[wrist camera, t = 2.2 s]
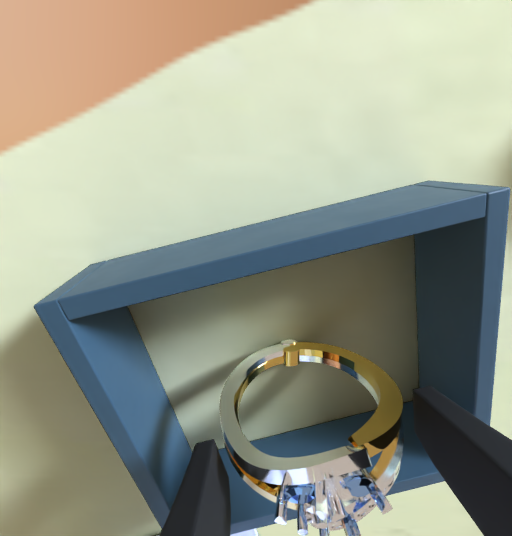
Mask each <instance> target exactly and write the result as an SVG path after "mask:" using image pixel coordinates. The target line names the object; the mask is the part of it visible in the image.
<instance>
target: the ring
mask: <svg viewBox="0 0 512 536" xmlns="http://www.w3.org/2000/svg"><path fill="white" fill-rule="evenodd" d="M300 361H308V362H317V363H323V364H327V365H330V366H333V367H336V368H338V369H340V370H343V371H345V372H346V373H348V374H350V375H351V376H353V377H354V378H356V379H357V380H358V381H360V382H361V383H362V384H363V385H364V386H365V387H366V388H367V389H368V390H369V392H370V393H371V394H372V396H373V397H374V399H375V401H376V403H377V405H378V407H377V409H376V411H375V413H374V414H373V416H372V417H371V418H370V419H369V420H368V421H367V422H366V423H365V424H364V425H363V426H362V427H361V428H360V429H359V430H358V431H357V432H355V433H354V434H353V435H351V436H350V437H349V438H348V441H349V444H350V446H344V447H340V448H337V449H333V450H330V451H326V452H323V453H319V454H314V455H309V456H303V457H293V458H282V457H274V456H270V455H267V454H265V453H263V452H261V451H259V450H258V449H256V448H255V447H254V446H253V445H252V444H251V443H250V442H249V441H248V439H247V438H246V437H245V435H244V434H243V432H242V430H241V427H240V424H239V419H238V412H239V405H240V401H241V398H242V395H243V393H244V391H245V389H246V388H247V386H248V385H249V383H250V382H251V381H252V380H253V379H254V378H255V377H256V376H257V375H258V374H260V373H261V372H263V371H264V370H266V369H268V368H270V367H273V366H276V365H279V364H284V365H285V366H296V365H298V364H299V363H300ZM219 410H220V422H221V429H222V434H223V441H224V445H225V449H226V452H227V454H228V457H229V459H230V461H231V463H232V465H233V467H234V468H235V470H236V471H237V473H238V474H239V475H240V477H241V478H242V479H243V480H244V481H245V482H246V483H247V484H248V485H249V486H250V487H251V488H252V489H254V490H255V491H256V492H258V493H259V494H260V495H262V496H264V497H265V498H267V499H269V500H271V501H273V502H275V503H276V508H275V519H274V522H276V523H279V524H283V525H286V519H287V508H290V509H294V510H297V523H298V533H299V534H300V535H307V534H308V524H309V525H311V526H313V527H315V528H317V529H319V532H320V536H330V532H329V531H333V530H340V529H343V528H344V531H345V534H346V536H361V534H360V531H359V529H358V526H357V523H356V522H358V521H359V520H361V519H362V518H363V517H365V516H366V515H367V514H368V513H369V512H370V511H371V510H372V509H373V508H374V507H375V506H376V505H377V506H378V508H379V510H380V511H381V513H382V514H385V513H387V512H389V511H390V510H392V509H393V508H392V506H391V505H390V503H389V502H388V500H387V499H386V497H385V495H386V494H387V493H388V491H389V490H390V488H391V487H392V485H393V484H394V482H395V480H396V478H397V475H398V473H399V470H400V466H401V461H402V453H403V444H404V428H403V421H402V412H403V399H402V395H401V392H400V390H399V388H398V386H397V385H396V383H395V382H394V381H393V379H392V378H391V377H390V376H389V375H388V374H387V373H386V372H385V371H383V370H382V369H381V368H380V367H378V366H377V365H376V364H374V363H373V362H371V361H370V360H368V359H366V358H364V357H362V356H360V355H358V354H356V353H354V352H352V351H349V350H346V349H343V348H340V347H337V346H333V345H328V344H322V343H313V342H297V341H296V340H293V339H288V340H283V341H281V344H277V345H273V346H270V347H267V348H264V349H261V350H259V351H257V352H255V353H253V354H252V355H250V356H248V357H247V358H246V359H244V360H243V361H242V362H241V363H240V364H239V365H238V366H237V367H236V368H235V369H234V370H233V371H232V373H231V374H230V375H229V377H228V379H227V380H226V382H225V384H224V387H223V389H222V392H221V396H220V404H219ZM382 450H383V451H382ZM381 451H382V454H381V456H380V458H379V460H378V462H377V463H376V465H375V467H374V468H373V469H372V471H371V472H370V473H369V472H368V470H367V469H366V468H368V467H371V466H372V464H371V460H370V458H371V457H373V456H374V455H376V454H378V453H379V452H381ZM307 523H308V524H307Z"/></svg>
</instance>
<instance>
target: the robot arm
mask: <svg viewBox="0 0 512 536" xmlns="http://www.w3.org/2000/svg"><path fill="white" fill-rule="evenodd" d="M413 409H414V431H415V433H416V435H417V437H418V438H419V440H420V442H421V444H422V445H423V447H424V449H425V451H426V452H427V454H428V456H429V457H430V459H431V461H432V463H433V464H434V466H435V467H436V468H437V470H438V471H439V473H440V474H441V476H442V477H443V478H444V480H445V481H446V483H447V484H448V485H449V487H450V488H451V490H452V491H453V493H454V494H455V495H456V497H457V498H458V500H459V501H460V502H461V504H462V505H463V507H464V508H465V509H466V511H467V512H468V514H469V515H470V516H471V518H472V519H473V521H474V522H475V523H476V525H477V526H478V528H479V529H480V530H481V532H482V533H483V535H484V536H512V440H511V439H509V438H507V437H506V436H504V435H503V434H501V433H500V432H498V431H497V430H495V429H493V428H492V427H490V426H489V425H487V424H486V423H484V422H483V421H481V420H480V419H478V418H477V417H475V416H474V415H472V414H471V413H469V412H468V411H466V410H465V409H463V408H462V407H460V406H459V405H458V404H456V403H455V402H453V401H452V400H450V399H449V398H447V397H446V396H444V395H443V394H442V393H440V392H439V391H437V390H436V389H434V388H433V387H431V386H430V385H429V386H425V387H421V388H417V389H413ZM230 528H231V504H230V486H229V476H228V474H227V471H226V469H225V466H224V464H223V461H222V459H221V456H220V454H219V451H218V449H217V446H216V443H215V441H214V439H212V440H208V441H204V442H200V443H197V444H196V445H195V447H194V450H193V453H192V456H191V459H190V462H189V464H188V467H187V470H186V472H185V475H184V478H183V480H182V483H181V485H180V488H179V491H178V493H177V495H176V498H175V500H174V503H173V505H172V507H171V510H170V512H169V515H168V517H167V519H166V522H165V524H164V526H163V528H162V531H161V533H160V535H157V536H258V533H257V530H256V528H255V529H251V530H248V531H244V532H240V533H236V534H232V535H230Z"/></svg>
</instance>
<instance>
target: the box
mask: <svg viewBox="0 0 512 536" xmlns="http://www.w3.org/2000/svg"><path fill="white" fill-rule="evenodd" d="M509 198H510V188H509V187H499V186H487V185H475V184H463V183H451V182H439V181H425V182H421V183H417V184H414V185H409V186H405V187H400V188H396V189H392V190H388V191H384V192H380V193H376V194H372V195H368V196H364V197H360V198H356V199H352V200H348V201H344V202H340V203H336V204H332V205H328V206H324V207H320V208H316V209H312V210H308V211H304V212H300V213H296V214H292V215H288V216H284V217H280V218H276V219H272V220H268V221H264V222H260V223H256V224H252V225H248V226H244V227H240V228H236V229H232V230H228V231H223V232H219V233H215V234H211V235H207V236H203V237H199V238H195V239H191V240H187V241H183V242H179V243H175V244H171V245H167V246H163V247H159V248H155V249H151V250H147V251H143V252H139V253H135V254H131V255H127V256H123V257H119V258H115V259H111V260H108V261H103V262H99V263H95V264H91V265H89V266H88V267H87V268H85V269H84V270H82V271H81V272H80V273H78V274H77V275H76V276H74V277H73V278H71V279H70V280H69V281H67V282H66V283H64V284H63V285H62V286H60V287H59V288H58V289H56V290H55V291H53V292H52V293H51V294H49V295H48V296H46V297H45V298H44V299H42V300H41V301H40V302H38V303H37V304H35V305H34V309H35V310H36V312H37V314H38V316H39V317H40V319H41V321H42V322H43V324H44V326H45V328H46V329H47V331H48V333H49V335H50V336H51V338H52V340H53V341H54V343H55V345H56V347H57V348H58V350H59V352H60V354H61V355H62V357H63V359H64V360H65V362H66V364H67V366H68V367H69V369H70V371H71V373H72V374H73V376H74V378H75V379H76V381H77V383H78V385H79V386H80V388H81V390H82V392H83V393H84V395H85V397H86V398H87V400H88V402H89V404H90V405H91V407H92V409H93V411H94V412H95V414H96V416H97V418H98V419H99V421H100V423H101V424H102V426H103V428H104V430H105V431H106V433H107V435H108V437H109V438H110V440H111V442H112V443H113V445H114V447H115V449H116V450H117V452H118V454H119V456H120V457H121V459H122V461H123V462H124V464H125V466H126V468H127V469H128V471H129V473H130V475H131V476H132V478H133V480H134V481H135V483H136V485H137V487H138V488H139V490H140V492H141V494H142V495H143V497H144V499H145V500H146V502H147V504H148V506H149V507H150V509H151V511H152V513H153V514H154V516H155V518H156V519H157V521H158V523H159V525H160V526H161V528H163V526H164V524H165V522H166V519H167V517H168V515H169V512H170V510H171V507H172V505H173V503H174V500H175V498H176V495H177V493H178V491H179V488H180V485H181V483H182V480H183V478H184V475H185V472H186V470H187V467H188V464H189V462H190V459H191V456H192V451H191V449H190V446H189V444H188V442H187V440H186V437H185V435H184V433H183V431H182V428H181V426H180V424H179V422H178V419H177V417H176V415H175V413H174V410H173V408H172V406H171V404H170V401H169V399H168V397H167V395H166V392H165V390H164V388H163V386H162V383H161V381H160V379H159V377H158V374H157V372H156V370H155V368H154V365H153V363H152V361H151V359H150V356H149V354H148V352H147V350H146V347H145V345H144V343H143V341H142V339H141V336H140V334H139V332H138V330H137V327H136V325H135V323H134V321H133V318H132V316H131V314H130V312H129V309H128V307H127V306H129V305H133V304H137V303H141V302H145V301H149V300H153V299H157V298H161V297H165V296H169V295H173V294H177V293H181V292H185V291H189V290H193V289H197V288H201V287H205V286H210V285H214V284H218V283H222V282H226V281H230V280H234V279H238V278H242V277H246V276H250V275H254V274H258V273H262V272H266V271H270V270H274V269H278V268H282V267H286V266H290V265H294V264H298V263H302V262H306V261H310V260H314V259H318V258H322V257H326V256H330V255H334V254H338V253H342V252H346V251H350V250H354V249H358V248H362V247H366V246H370V245H374V244H378V243H382V242H386V241H390V240H394V239H398V238H402V237H406V236H410V235H414V238H415V268H416V299H417V329H418V359H419V388H421V387H425V386H429V385H430V386H431V387H433V388H434V389H436V390H437V391H439V392H440V393H442V394H443V395H444V396H446V397H447V398H449V399H450V400H452V401H453V402H455V403H456V404H458V405H459V406H460V407H462V408H463V409H465V410H466V411H468V412H469V413H471V414H472V415H474V416H475V417H477V418H478V419H480V420H481V421H483V422H484V423H486V424H487V425H489V426H490V419H491V408H492V396H493V384H494V373H495V361H496V349H497V338H498V326H499V315H500V303H501V291H502V280H503V268H504V256H505V245H506V233H507V221H508V210H509ZM375 411H376V410H374V411H370V412H366V413H362V414H358V415H354V416H350V417H346V418H342V419H338V420H334V421H330V422H326V423H322V424H318V425H314V426H310V427H306V428H302V429H298V430H294V431H290V432H286V433H282V434H278V435H274V436H270V437H266V438H262V439H259V440H255V441H251V442H250V443H251V444H252V445H253V446H254V447H255V448H256V449H258V450H259V451H261V452H263V453H265V454H267V455H270V456H274V457H282V458H293V457H303V456H309V455H314V454H319V453H323V452H326V451H330V450H333V449H337V448H340V447H344V446H350V444H349V441H348V438H349V437H350V436H351V435H353V434H354V433H355V432H357V431H358V430H359V429H360V428H361V427H362V426H363V425H364V424H365V423H366V422H367V421H368V420H369V419H370V418H371V417H372V416H373V414H374V413H375ZM402 421H403V428H404V444H403V453H402V461H401V466H400V470H399V473H398V475H397V478H396V480H395V482H394V484H393V485H392V487H391V488H390V490H389V491H388V493H387V494H386V495H385V496H387V495H391V494H395V493H399V492H403V491H407V490H411V489H415V488H419V487H423V486H427V485H431V484H435V483H439V482H443V481H445V480H444V478H443V477H442V476H441V474H440V473H439V471H438V470H437V468H436V467H435V466H434V464H433V463H432V461H431V459H430V457H429V456H428V454H427V452H426V451H425V449H424V447H423V445H422V444H421V442H420V440H419V438H418V437H417V435H416V433H415V431H414V409H413V401H410V402H406V403H403V412H402ZM218 451H219V454H220V456H221V459H222V461H223V464H224V466H225V469H226V471H227V474H228V476H229V486H230V504H231V528H230V535H232V534H236V533H240V532H244V531H248V530H251V529H255V528H259V527H263V526H267V525H271V524H275V523H276V522H274V519H275V508H276V503H275V502H273V501H271V500H269V499H267V498H265V497H264V496H262V495H260V494H259V493H258V492H256V491H255V490H254V489H252V488H251V487H250V486H249V485H248V484H247V483H246V482H245V481H244V480H243V479H242V478H241V477H240V475H239V474H238V473H237V471H236V470H235V468H234V467H233V465H232V463H231V461H230V459H229V457H228V454H227V452H226V449H225V448H223V449H219V450H218ZM382 451H383V450H382ZM382 451H381V452H379V453H378V454H376V455H374V456H373V457H371V458H370V460H371V464H372V466H371V467H368V468H366V469H367V470H368V472H369V473H370V472H371V471H372V469H373V468H374V467H375V465H376V463H377V462H378V460H379V458H380V456H381V454H382ZM295 518H297V510H294V509H290V508H287V519H286V521H287V520H291V519H295Z"/></svg>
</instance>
